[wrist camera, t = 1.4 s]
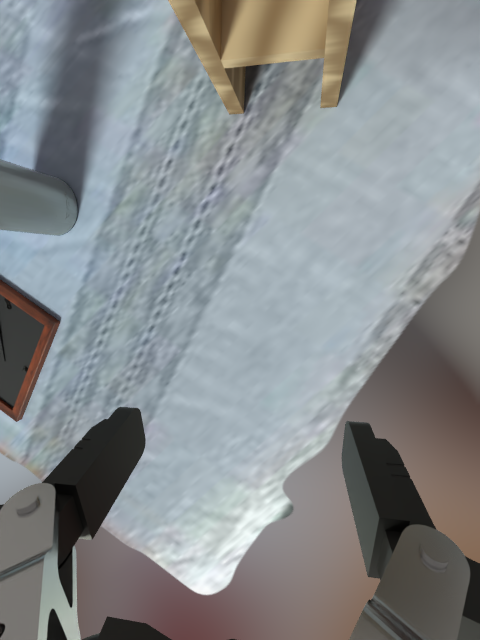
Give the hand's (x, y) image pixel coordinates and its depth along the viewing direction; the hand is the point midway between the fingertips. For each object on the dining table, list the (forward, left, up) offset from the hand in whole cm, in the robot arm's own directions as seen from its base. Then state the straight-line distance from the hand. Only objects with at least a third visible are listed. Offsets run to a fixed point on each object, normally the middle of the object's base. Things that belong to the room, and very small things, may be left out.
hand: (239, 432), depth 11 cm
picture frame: (-56, -12, -33) cm, 66 cm away
